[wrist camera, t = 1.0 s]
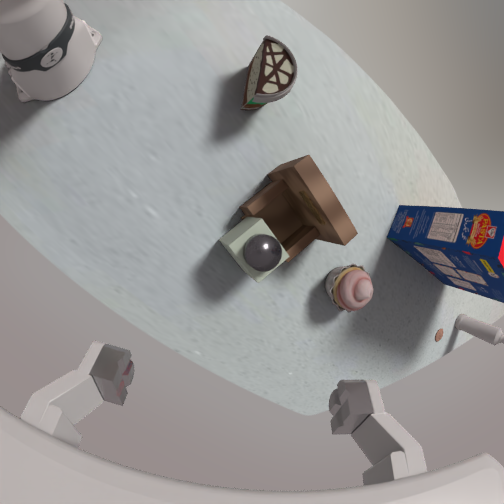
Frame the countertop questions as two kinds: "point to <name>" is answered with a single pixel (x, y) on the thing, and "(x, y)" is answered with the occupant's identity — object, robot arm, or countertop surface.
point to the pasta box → (455, 245)
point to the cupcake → (349, 287)
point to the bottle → (480, 329)
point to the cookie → (439, 335)
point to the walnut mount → (300, 207)
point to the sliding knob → (254, 248)
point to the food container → (269, 74)
